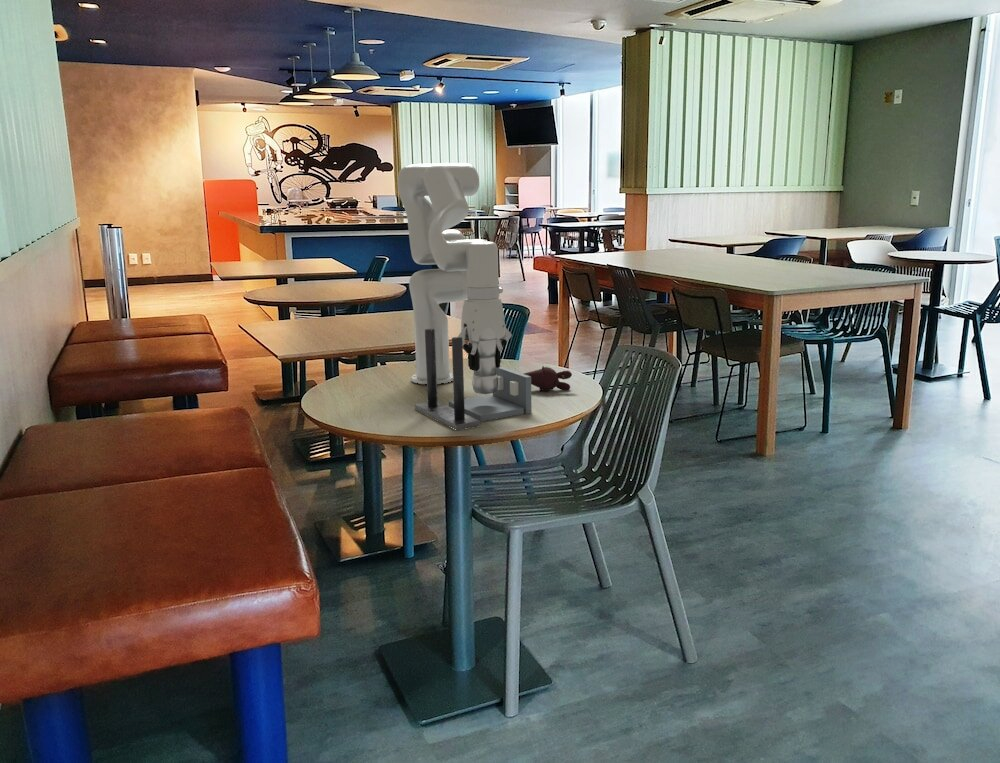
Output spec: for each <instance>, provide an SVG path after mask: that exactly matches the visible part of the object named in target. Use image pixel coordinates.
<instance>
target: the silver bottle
mask: <svg viewBox="0 0 1000 763" xmlns="http://www.w3.org/2000/svg"><path fill="white" fill-rule="evenodd" d="M496 344H497V333H496V331H495V330H494V329H493V328H486V329H484V330H483V331H482V332H481V334H480V336H479V342H477V349H476V355H478V370H477V371H473V375H472V381H471V385H472V389H473V392H474V393H476V394H480V395H492V394H493V393H494V392H496V391H497V389H498V377H497V372H496V362H495V360H496V357H495V355H496Z"/></svg>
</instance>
